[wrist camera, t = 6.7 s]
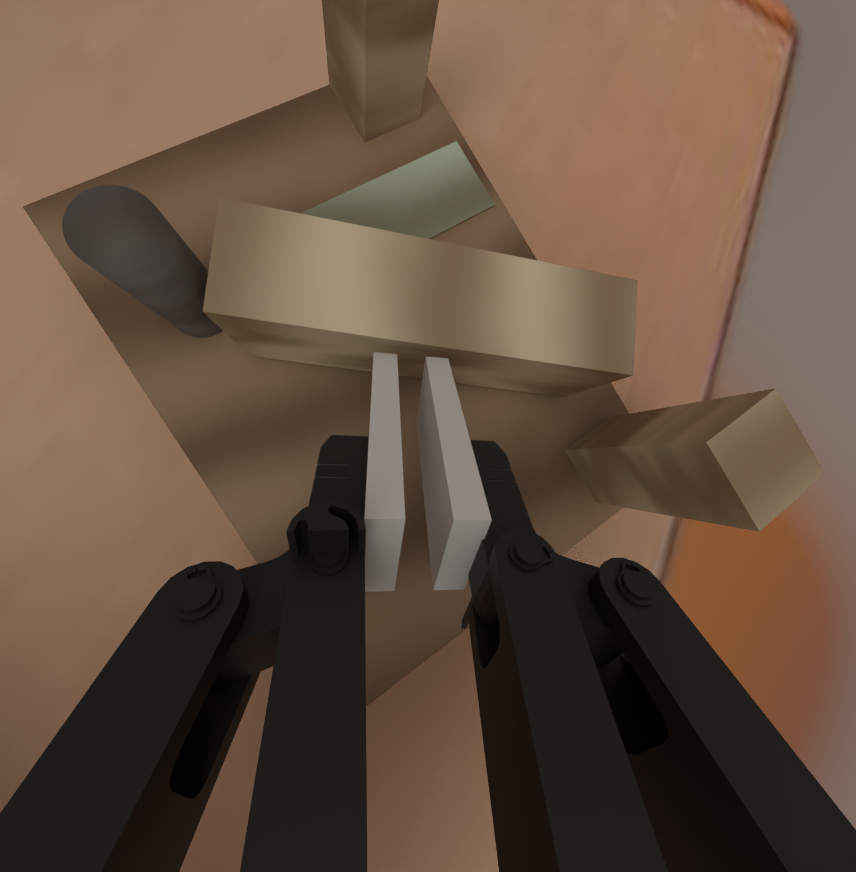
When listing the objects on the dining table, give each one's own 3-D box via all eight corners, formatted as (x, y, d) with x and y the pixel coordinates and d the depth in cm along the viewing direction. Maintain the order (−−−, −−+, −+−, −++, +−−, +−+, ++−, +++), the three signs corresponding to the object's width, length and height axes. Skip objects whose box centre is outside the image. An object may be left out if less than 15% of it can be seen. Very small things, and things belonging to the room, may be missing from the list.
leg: (250, 355, 15) (202, 311, 10) (261, 274, 15) (219, 197, 11) (563, 397, 17) (633, 375, 13) (568, 325, 17) (637, 280, 13)
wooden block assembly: (73, 244, 16) (-336, -61, 7) (405, 102, 20) (446, -238, 10) (357, 677, 17) (350, 948, 8) (629, 472, 21) (861, 483, 11)
